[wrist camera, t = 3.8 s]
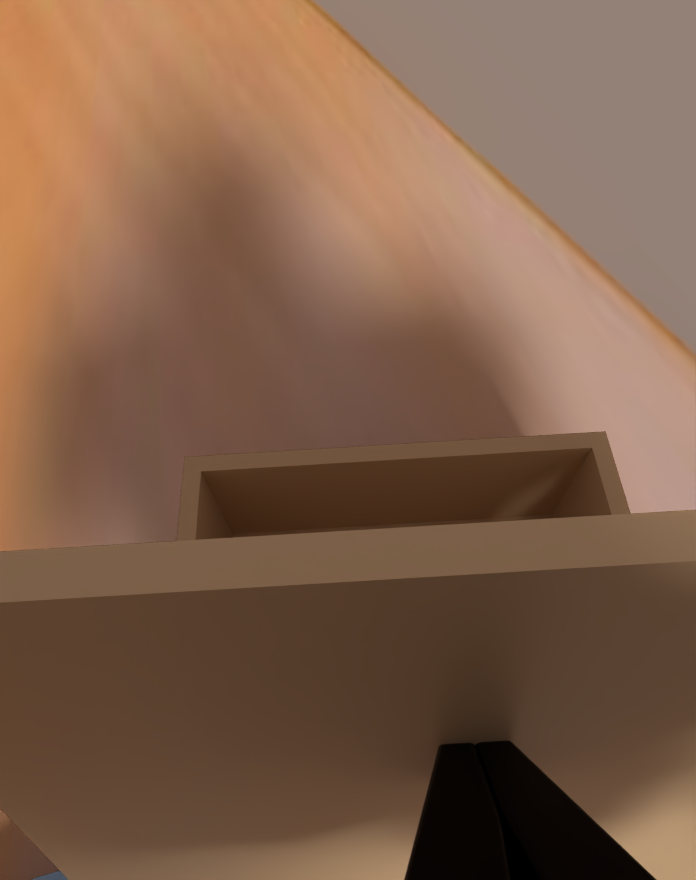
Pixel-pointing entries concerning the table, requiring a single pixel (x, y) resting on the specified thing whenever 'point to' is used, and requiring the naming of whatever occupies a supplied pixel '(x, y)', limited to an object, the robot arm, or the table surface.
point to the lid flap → (342, 691)
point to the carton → (399, 486)
